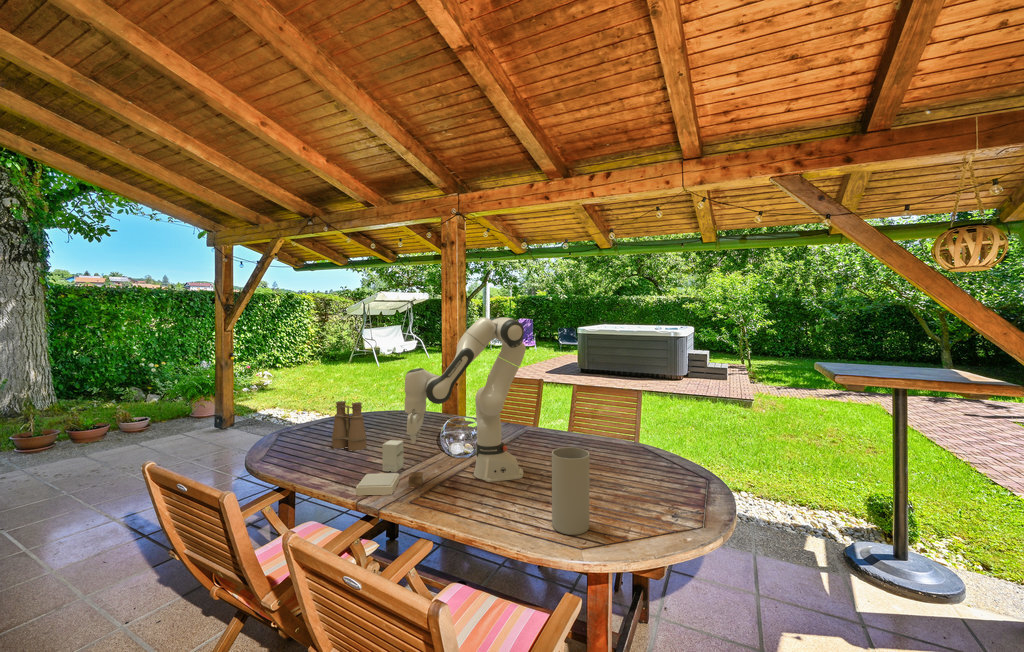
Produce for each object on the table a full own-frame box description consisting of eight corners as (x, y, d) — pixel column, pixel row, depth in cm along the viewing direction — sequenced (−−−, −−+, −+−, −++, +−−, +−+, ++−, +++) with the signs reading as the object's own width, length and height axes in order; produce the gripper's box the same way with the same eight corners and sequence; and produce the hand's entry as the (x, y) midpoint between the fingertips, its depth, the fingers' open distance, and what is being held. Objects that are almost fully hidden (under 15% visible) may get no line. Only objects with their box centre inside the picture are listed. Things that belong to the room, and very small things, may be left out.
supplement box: (396, 472, 193) (396, 445, 193) (381, 471, 195) (381, 444, 194) (404, 466, 200) (403, 440, 200) (389, 465, 202) (389, 439, 202)
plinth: (399, 481, 182) (399, 472, 182) (391, 495, 168) (391, 485, 168) (366, 482, 181) (366, 473, 181) (356, 496, 167) (355, 486, 167)
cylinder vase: (555, 515, 150) (555, 446, 149) (591, 520, 146) (591, 449, 146) (548, 533, 138) (548, 457, 137) (587, 538, 134) (587, 460, 134)
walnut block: (422, 483, 180) (422, 472, 180) (421, 488, 175) (420, 476, 175) (410, 483, 180) (410, 472, 180) (408, 488, 175) (408, 476, 175)
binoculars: (327, 449, 228) (326, 403, 228) (340, 443, 238) (340, 399, 237) (358, 453, 221) (358, 405, 221) (370, 447, 231) (370, 402, 230)
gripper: (419, 412, 167) (418, 447, 167) (426, 402, 187) (426, 433, 187) (402, 412, 166) (402, 447, 167) (412, 402, 187) (411, 433, 187)
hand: (415, 439), depth 177 cm, fingers open, 8 cm apart
